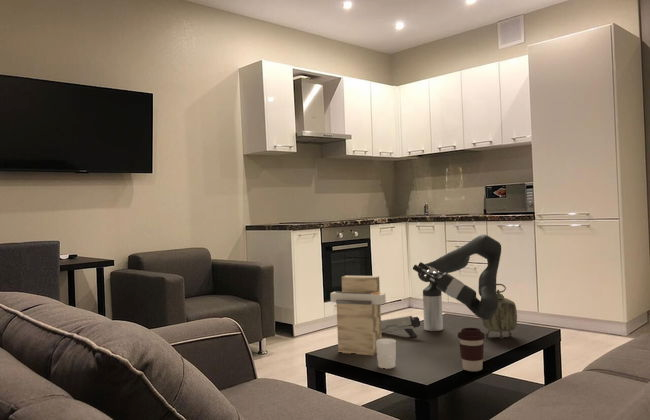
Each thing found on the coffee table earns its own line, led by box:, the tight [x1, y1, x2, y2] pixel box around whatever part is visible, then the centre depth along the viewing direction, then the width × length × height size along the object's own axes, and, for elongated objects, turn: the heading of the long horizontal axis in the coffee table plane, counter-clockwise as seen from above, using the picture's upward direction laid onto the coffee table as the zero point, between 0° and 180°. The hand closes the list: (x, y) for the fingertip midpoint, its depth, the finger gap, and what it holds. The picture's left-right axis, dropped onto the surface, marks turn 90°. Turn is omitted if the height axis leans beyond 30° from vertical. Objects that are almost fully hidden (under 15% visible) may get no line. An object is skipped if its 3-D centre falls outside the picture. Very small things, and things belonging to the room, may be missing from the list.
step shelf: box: [335, 275, 383, 356], centre depth 233 cm, size 12×16×32 cm
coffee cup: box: [457, 327, 486, 372], centre depth 201 cm, size 10×10×15 cm
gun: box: [381, 315, 421, 338], centre depth 258 cm, size 2×25×10 cm, turn 53°
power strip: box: [330, 291, 387, 305], centre depth 231 cm, size 4×24×4 cm, turn 66°
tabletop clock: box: [481, 283, 518, 340], centre depth 246 cm, size 14×9×25 cm, turn 88°
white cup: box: [376, 338, 397, 370], centre depth 209 cm, size 8×8×10 cm
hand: (416, 265), depth 223 cm, fingers open, 8 cm apart
